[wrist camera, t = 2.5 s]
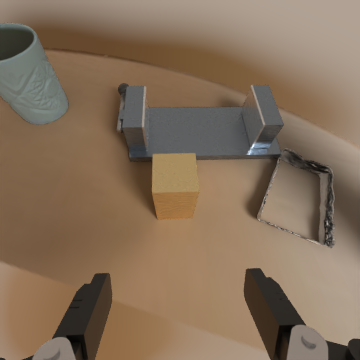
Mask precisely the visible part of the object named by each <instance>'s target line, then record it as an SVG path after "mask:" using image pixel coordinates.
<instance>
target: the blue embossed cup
mask: <svg viewBox="0 0 360 360" xmlns="http://www.w3.org/2000/svg"><path fill="white" fill-rule="evenodd" d="M0 96H1V97H2V98H3V99H4V100H5V101H7V102H8V103H9V104H10V105H11V107H12V108H13V109H14V110H15V111H16V112H17V113H18V114H19V115H20V116H21V117H22V118H23V119H24V120H26V121H27V122H29V123H32V124H36V125H38V124H48V123H50V122H53V121H55V120H57V119H59V118H60V117H61V116H63V115H64V114H65V113H66V111H67V109H68V105H69V103H68V99H67V97H66V95H65V93H64V91H63V89H62V87H61V85H60V83H59V80H58V78H57V76H56V74H55V72H54V70H53V68H52V66H51V64H50V63H49V62H48V58H47V56H46V55H45V52H44V49H43V47H42V45H41V43H40V41H39V39H38V37H37V34H36V33H35V31H34V30H33V29H32V28H30V27H28V26H26V25H22V24H16V23H1V24H0Z"/></svg>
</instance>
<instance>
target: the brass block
mask: <svg viewBox="0 0 360 360" xmlns="http://www.w3.org/2000/svg"><path fill="white" fill-rule="evenodd" d="M198 194H199V184H198V174H197V164H196V154H195V153H173V154H153V166H152V195H153V200H154V205H155V210H156V214H157V219H181V218H192V217H193V213H194V210H195V206H196V202H197V198H198Z"/></svg>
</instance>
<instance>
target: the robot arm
mask: <svg viewBox="0 0 360 360" xmlns="http://www.w3.org/2000/svg"><path fill="white" fill-rule="evenodd" d="M244 297H245V301H246V303H247V305H248V308H249V310H250V312H251V315H252V317H253V319H254V322H255V324H256V327H257V329H258V331H259V334H260V336H261V338H262V341H263V343H264V345H265V348H266V350H267V352H268V355H269V357H270V359H271V360H360V339H352V340H350V341H349V343H348V346H345V345H341V344H337V343H333V342H329V341H326V340H325V339H324V338H323V337H322V336H321V335H320V334H319V333H318V332H317V331H316V330H314V329H312V328H310V327H308V326H306V324H305V323H304V322H303V320H302V319H301V317H300V316H299V314H298V313H297V311H296V310H295V308H294V307H293V305H292V304H291V302H290V301H289V300H288V298H287V296H286V295H285V293H284V292H283V290H282V289H281V287H280V286H279V284H278V283H277V282H275V281H274V280H273V279H272V278H271V277H265V275H264V273H263V272H262V270H261V269H260V268H252V269H246V274H245V283H244ZM111 303H112V289H111V279H110V274H109V273H97V274H95V275H94V277H93V279H92V281H91V283H90V284H84V285H83V286H82V287H81V288H80V289H79V290H78V291H77V292H76V294H75V296H74V298H73V300H72V302H71V304H70V306H69V308H68V310H67V311H66V313H65V316H64V317H63V319H62V321H61V323H60V325H59V326H58V329H57V331H56V333H55V334H54V336H53V338H52V339H51V340H49V341H48V342H46V343H45V344H43V345H42V346H41V347H40V348H39V349H38V350H37V352H36V353H35V355H33V356H31V357H28V358H26V359H23V360H95V357H96V354H97V351H98V347H99V344H100V340H101V337H102V334H103V331H104V327H105V324H106V321H107V318H108V314H109V311H110V308H111ZM0 360H5V359H4V358H0Z"/></svg>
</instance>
